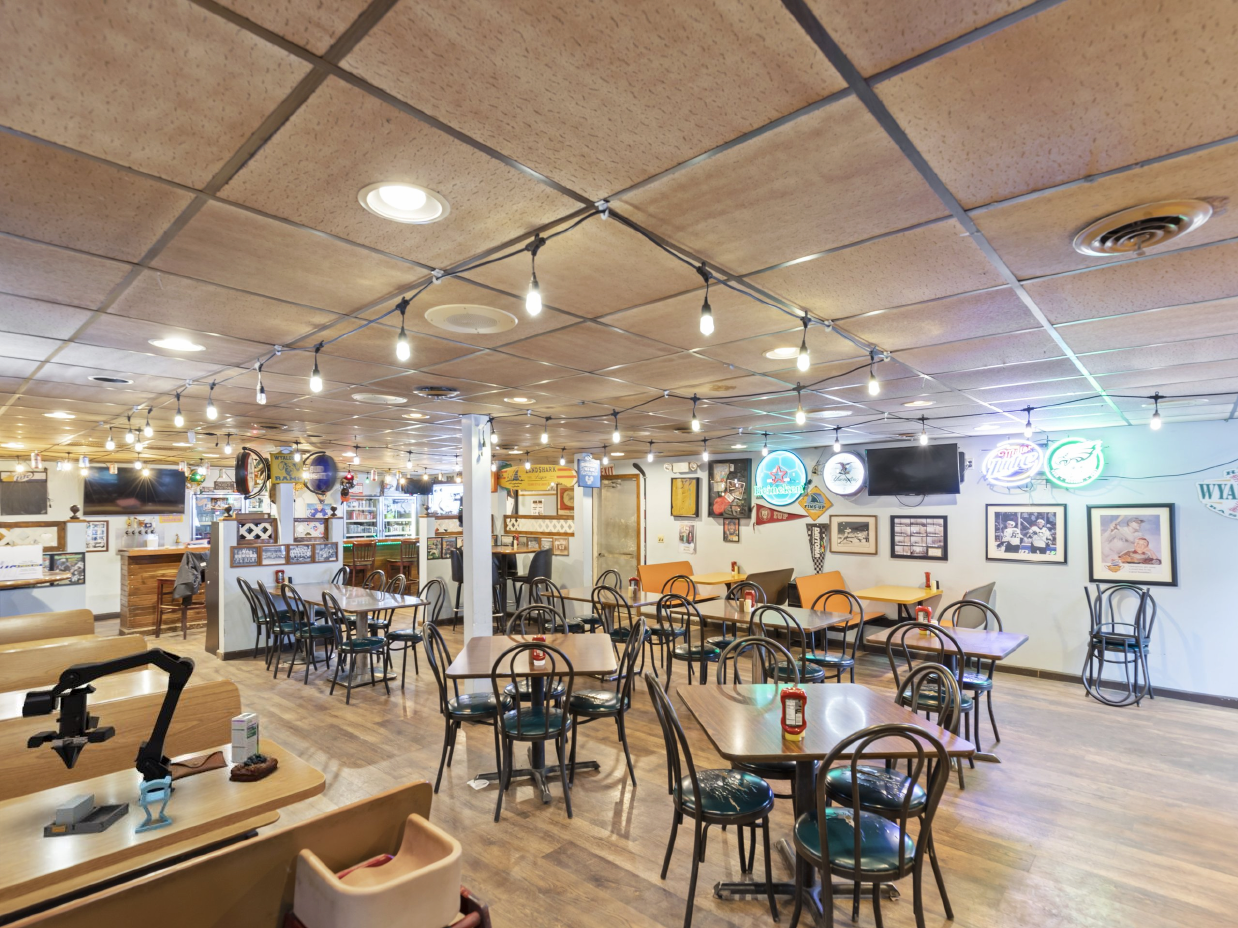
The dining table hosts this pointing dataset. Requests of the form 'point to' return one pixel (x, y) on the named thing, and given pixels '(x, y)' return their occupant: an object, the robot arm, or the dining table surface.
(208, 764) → the sunglasses case
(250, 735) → the syrup box
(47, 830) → the dark grey flat tray
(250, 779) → the pastry
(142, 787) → the chair
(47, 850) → the dining table surface
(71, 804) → the grey rectangular block
